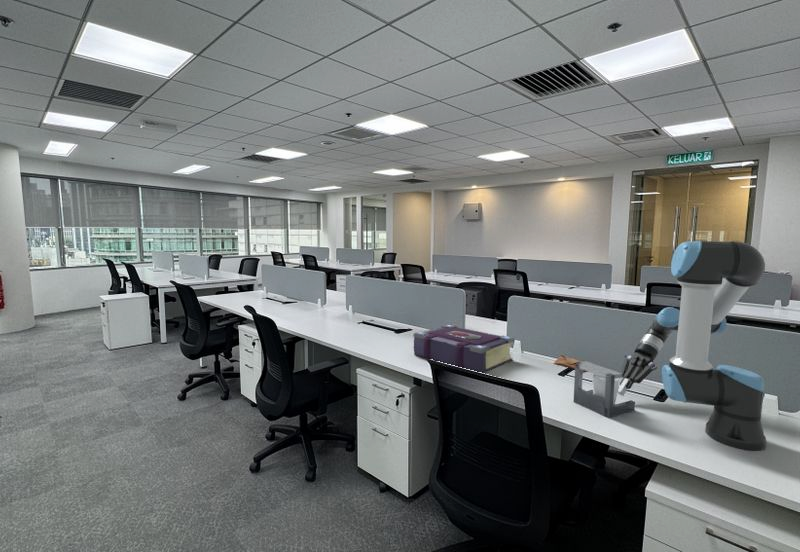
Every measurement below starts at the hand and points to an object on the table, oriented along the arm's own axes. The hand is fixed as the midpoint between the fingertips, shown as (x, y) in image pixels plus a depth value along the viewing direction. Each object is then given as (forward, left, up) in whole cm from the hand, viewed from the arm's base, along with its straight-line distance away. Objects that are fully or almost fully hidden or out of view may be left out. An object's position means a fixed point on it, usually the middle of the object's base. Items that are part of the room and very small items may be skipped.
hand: (620, 393), depth 155 cm
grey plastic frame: (-3, +9, -4) cm, 10 cm away
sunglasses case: (+43, -4, -4) cm, 44 cm away
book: (+61, +50, -4) cm, 79 cm away
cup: (-4, +9, -4) cm, 11 cm away
